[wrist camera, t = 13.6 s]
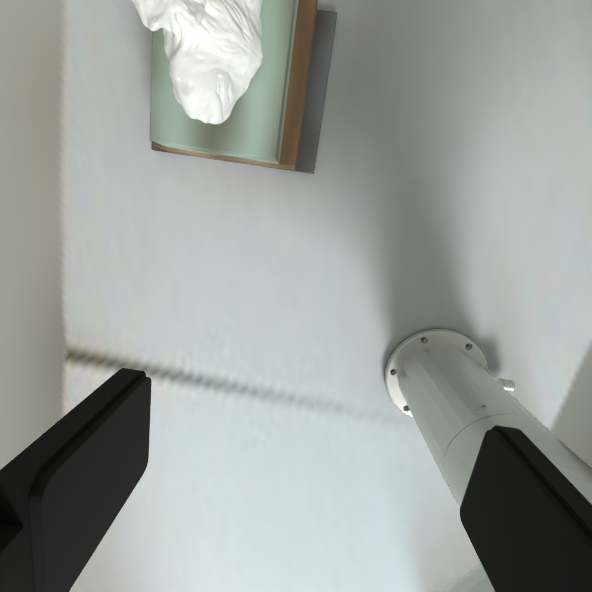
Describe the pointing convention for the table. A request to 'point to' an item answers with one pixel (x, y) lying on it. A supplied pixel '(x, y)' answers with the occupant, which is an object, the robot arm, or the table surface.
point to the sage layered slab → (258, 96)
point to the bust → (208, 50)
